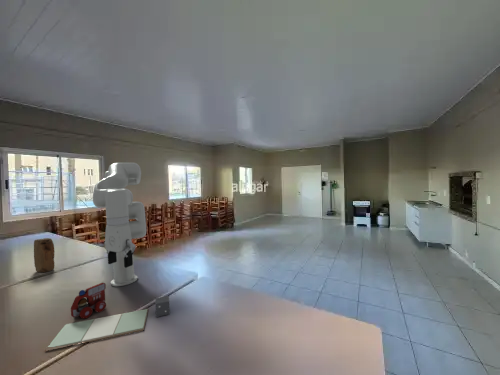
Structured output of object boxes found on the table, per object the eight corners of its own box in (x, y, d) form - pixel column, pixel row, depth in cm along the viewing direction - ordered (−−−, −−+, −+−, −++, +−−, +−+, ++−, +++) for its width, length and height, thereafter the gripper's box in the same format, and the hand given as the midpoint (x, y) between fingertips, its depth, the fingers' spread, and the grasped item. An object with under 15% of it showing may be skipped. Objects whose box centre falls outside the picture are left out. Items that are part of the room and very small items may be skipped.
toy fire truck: (67, 318, 90) (66, 292, 90) (101, 303, 100) (100, 280, 100) (75, 323, 86) (74, 296, 86) (110, 307, 97) (108, 283, 97)
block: (33, 271, 144) (31, 239, 144) (48, 267, 151) (46, 236, 151) (42, 273, 140) (40, 240, 139) (57, 269, 147) (55, 238, 146)
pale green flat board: (65, 325, 85) (65, 323, 85) (148, 310, 93) (148, 308, 93) (45, 352, 72) (44, 349, 72) (143, 330, 80) (143, 328, 80)
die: (155, 298, 92) (169, 295, 94) (155, 311, 92) (169, 308, 94) (155, 304, 88) (169, 301, 90) (155, 317, 88) (170, 314, 89)
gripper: (94, 221, 91) (97, 265, 91) (123, 224, 83) (126, 271, 84) (113, 218, 97) (115, 258, 98) (141, 220, 90) (143, 264, 90)
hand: (120, 264), depth 91 cm, fingers open, 9 cm apart
